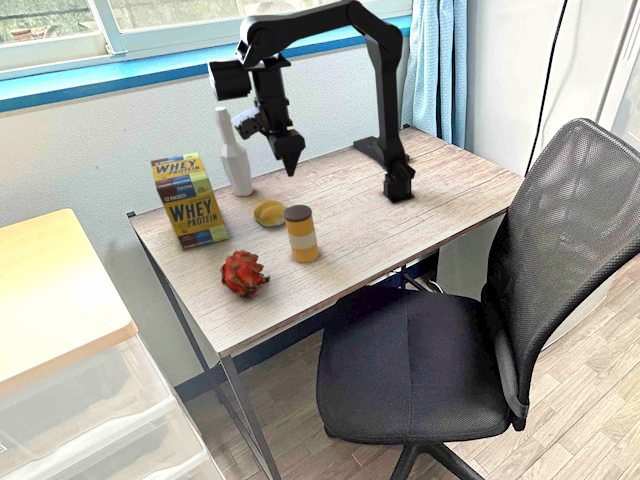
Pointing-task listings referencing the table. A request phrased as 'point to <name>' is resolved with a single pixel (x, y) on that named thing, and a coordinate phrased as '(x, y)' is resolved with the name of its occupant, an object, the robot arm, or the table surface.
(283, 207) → the bread roll
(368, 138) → the smart home device
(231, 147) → the low poly bottle
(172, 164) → the protein box
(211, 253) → the table surface
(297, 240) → the tube
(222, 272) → the dragon fruit
